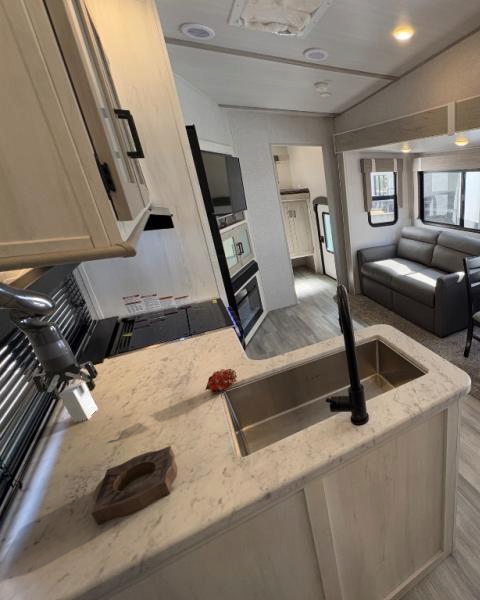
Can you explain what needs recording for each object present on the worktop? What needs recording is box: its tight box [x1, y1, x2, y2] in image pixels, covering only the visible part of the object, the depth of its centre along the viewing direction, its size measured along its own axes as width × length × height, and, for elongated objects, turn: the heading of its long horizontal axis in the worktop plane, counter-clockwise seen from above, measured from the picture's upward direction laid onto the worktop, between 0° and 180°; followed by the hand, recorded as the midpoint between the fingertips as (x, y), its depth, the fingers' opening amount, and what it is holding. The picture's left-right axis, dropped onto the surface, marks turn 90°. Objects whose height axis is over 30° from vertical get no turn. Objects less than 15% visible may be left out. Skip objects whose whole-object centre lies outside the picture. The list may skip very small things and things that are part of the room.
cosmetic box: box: [59, 381, 99, 424], centre depth 107 cm, size 6×4×12 cm
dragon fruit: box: [204, 368, 238, 394], centre depth 118 cm, size 8×8×12 cm
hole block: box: [90, 445, 178, 526], centre depth 80 cm, size 16×16×4 cm
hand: (76, 394), depth 106 cm, fingers open, 8 cm apart
